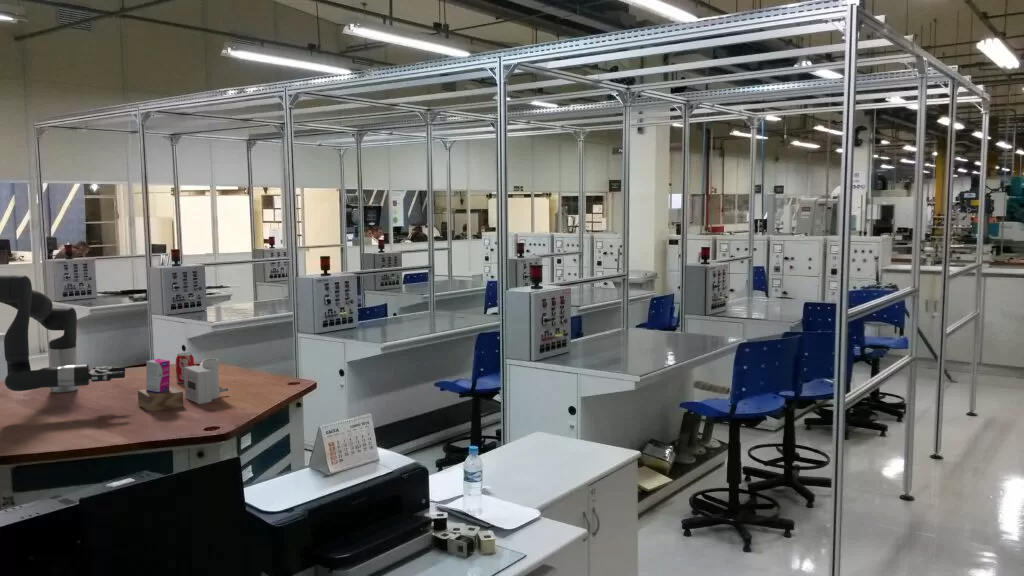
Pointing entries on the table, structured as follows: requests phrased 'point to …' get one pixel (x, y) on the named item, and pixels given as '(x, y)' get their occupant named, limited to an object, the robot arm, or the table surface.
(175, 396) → the walnut block
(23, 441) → the table surface
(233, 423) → the table surface
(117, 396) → the table surface
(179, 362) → the soda can
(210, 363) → the thermostat
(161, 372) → the supplement box
